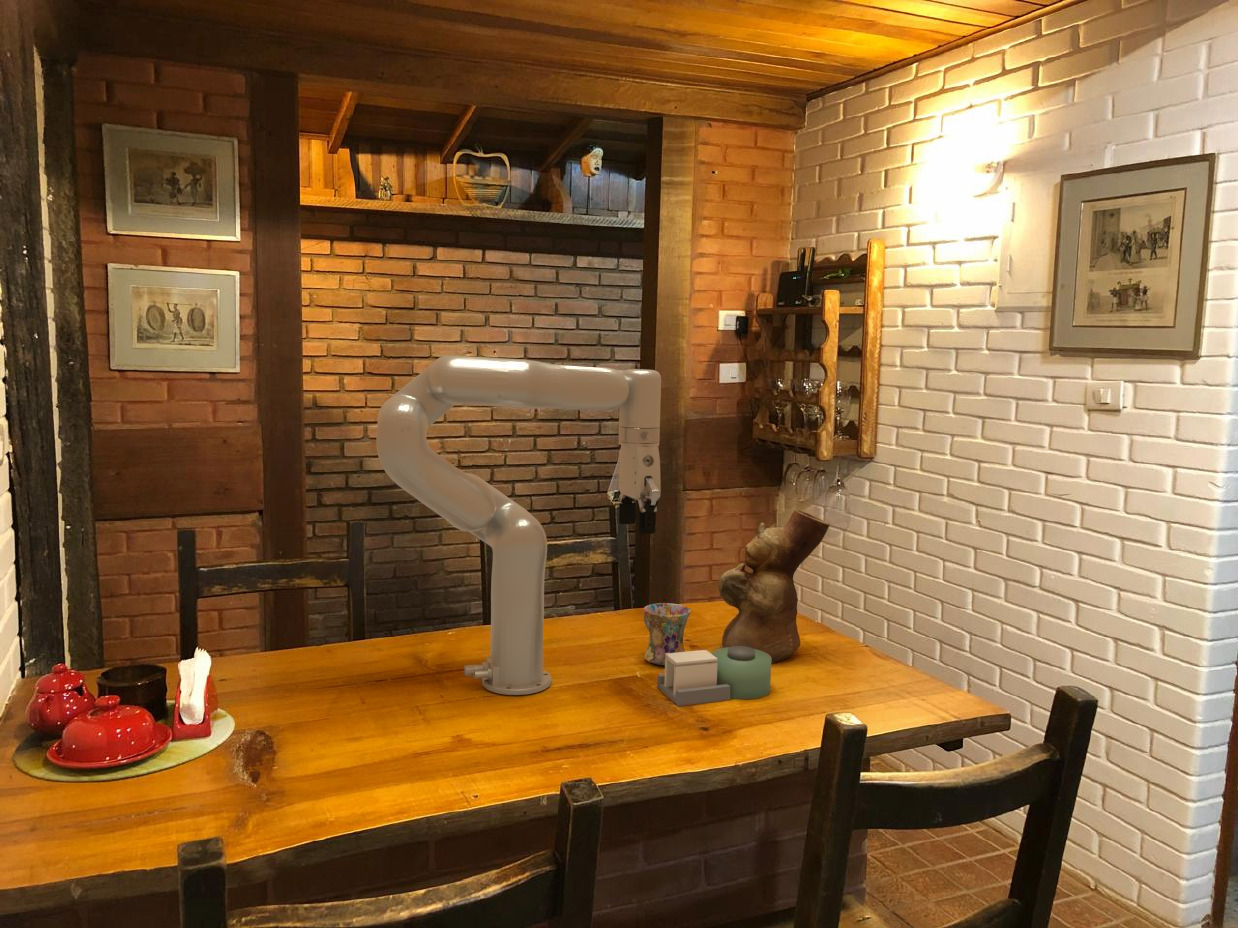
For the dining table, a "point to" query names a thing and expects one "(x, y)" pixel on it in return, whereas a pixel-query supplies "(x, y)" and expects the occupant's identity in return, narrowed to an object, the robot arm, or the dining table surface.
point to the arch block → (690, 670)
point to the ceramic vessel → (770, 586)
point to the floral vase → (665, 630)
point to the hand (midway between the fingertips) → (636, 528)
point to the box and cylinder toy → (728, 678)
